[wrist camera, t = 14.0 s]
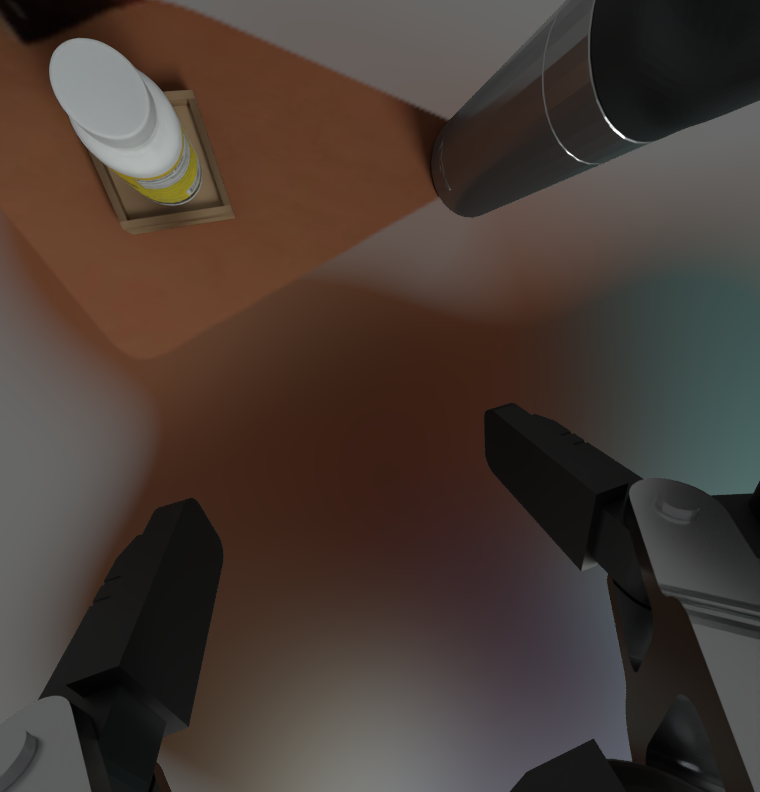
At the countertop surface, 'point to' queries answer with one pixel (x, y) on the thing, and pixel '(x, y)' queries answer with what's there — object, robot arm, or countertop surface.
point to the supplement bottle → (125, 120)
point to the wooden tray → (153, 216)
